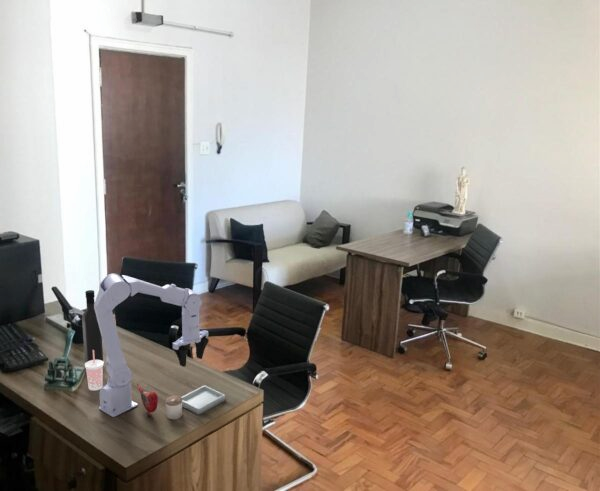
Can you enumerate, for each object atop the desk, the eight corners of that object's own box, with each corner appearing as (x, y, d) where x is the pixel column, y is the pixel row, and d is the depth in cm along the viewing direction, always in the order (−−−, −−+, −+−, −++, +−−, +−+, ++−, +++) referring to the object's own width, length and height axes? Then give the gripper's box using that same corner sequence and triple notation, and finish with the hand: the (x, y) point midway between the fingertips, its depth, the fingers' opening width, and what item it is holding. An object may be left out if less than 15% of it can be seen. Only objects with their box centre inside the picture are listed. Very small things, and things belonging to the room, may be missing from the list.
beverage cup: (98, 392, 186) (96, 355, 182) (82, 390, 187) (80, 352, 184) (108, 384, 192) (106, 347, 188) (92, 381, 193) (90, 345, 189)
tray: (198, 414, 175) (198, 409, 174) (177, 404, 181) (177, 398, 180) (225, 400, 184) (225, 394, 184) (204, 390, 190) (204, 385, 190)
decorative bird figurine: (153, 426, 168) (152, 397, 165) (133, 401, 181) (132, 374, 179) (162, 424, 169) (161, 395, 167) (141, 398, 183) (140, 371, 181)
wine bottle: (84, 366, 204) (79, 290, 196) (99, 362, 207) (95, 287, 200) (88, 372, 199) (83, 294, 192) (104, 368, 203) (100, 292, 195)
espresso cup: (173, 421, 171) (172, 405, 170) (162, 415, 174) (162, 399, 173) (185, 414, 175) (185, 399, 174) (175, 408, 178) (174, 393, 177)
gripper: (182, 334, 177) (183, 372, 180) (214, 321, 188) (214, 357, 191) (168, 329, 181) (168, 366, 184) (200, 316, 192) (200, 352, 195)
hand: (191, 361), depth 188 cm, fingers open, 7 cm apart
